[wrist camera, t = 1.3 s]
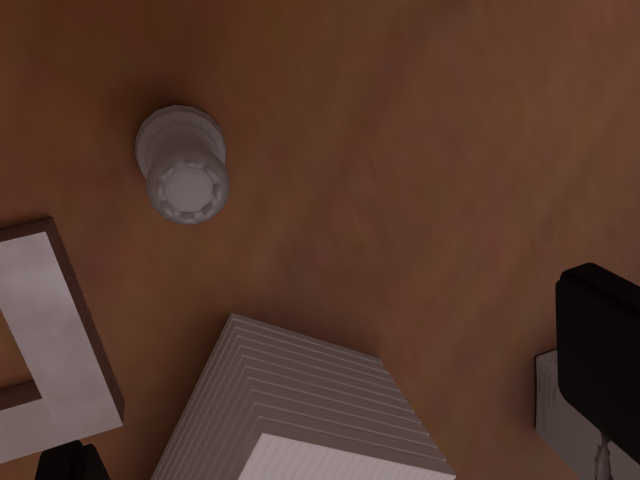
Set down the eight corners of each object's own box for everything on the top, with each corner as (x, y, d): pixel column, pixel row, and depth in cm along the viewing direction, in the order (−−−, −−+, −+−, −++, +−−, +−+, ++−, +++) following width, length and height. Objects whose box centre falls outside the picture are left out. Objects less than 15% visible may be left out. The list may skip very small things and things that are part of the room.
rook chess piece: (212, 198, 30) (231, 257, 23) (126, 178, 28) (117, 234, 21) (235, 117, 29) (262, 152, 21) (145, 91, 27) (143, 119, 20)
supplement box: (532, 354, 40) (678, 486, 29) (618, 327, 42) (790, 443, 31) (531, 431, 44) (663, 578, 32) (612, 403, 45) (766, 534, 34)
